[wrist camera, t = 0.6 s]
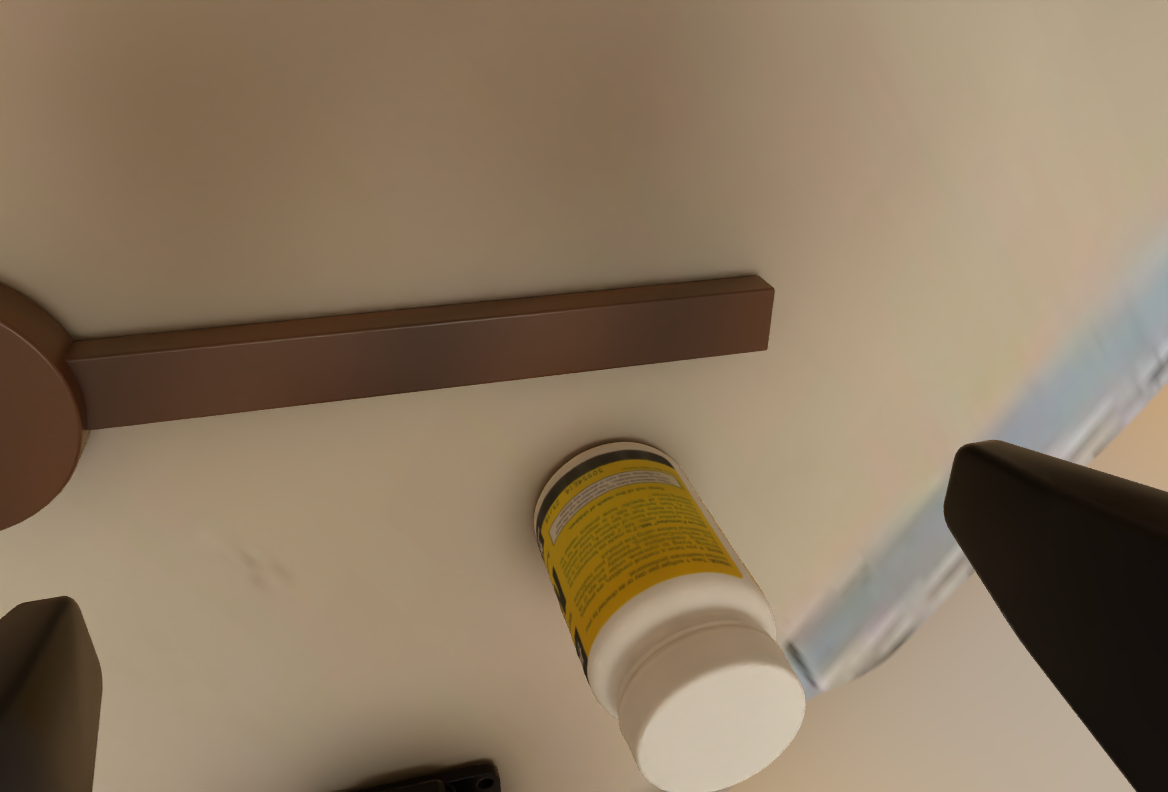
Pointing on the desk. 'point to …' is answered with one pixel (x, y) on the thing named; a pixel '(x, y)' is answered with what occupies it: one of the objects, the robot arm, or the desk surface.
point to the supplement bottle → (666, 620)
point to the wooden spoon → (332, 362)
